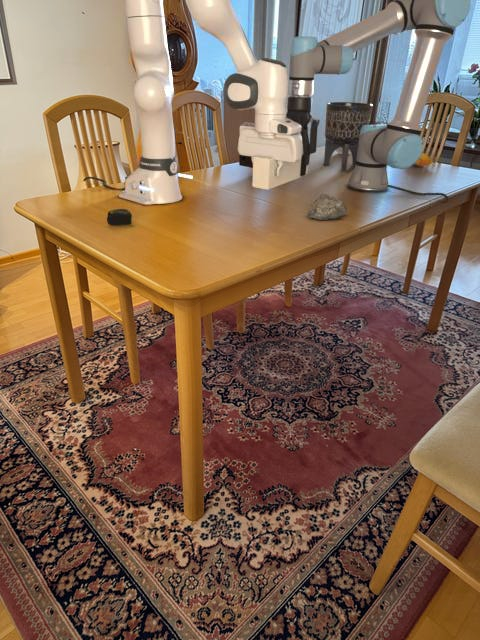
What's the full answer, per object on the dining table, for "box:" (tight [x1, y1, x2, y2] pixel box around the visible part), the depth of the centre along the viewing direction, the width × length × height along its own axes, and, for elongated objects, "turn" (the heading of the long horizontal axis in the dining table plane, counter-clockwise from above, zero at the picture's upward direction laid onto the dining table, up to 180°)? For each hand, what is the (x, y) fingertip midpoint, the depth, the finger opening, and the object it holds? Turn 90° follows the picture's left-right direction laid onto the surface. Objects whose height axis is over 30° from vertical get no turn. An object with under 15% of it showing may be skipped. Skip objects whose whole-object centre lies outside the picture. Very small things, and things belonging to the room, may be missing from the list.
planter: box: [323, 101, 374, 172], centre depth 204 cm, size 20×20×26 cm
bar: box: [251, 145, 309, 191], centre depth 142 cm, size 25×6×9 cm, turn 146°
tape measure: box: [106, 208, 133, 227], centre depth 132 cm, size 7×7×4 cm
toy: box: [414, 152, 434, 168], centre depth 216 cm, size 11×6×15 cm
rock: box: [307, 192, 348, 221], centre depth 142 cm, size 13×9×6 cm, turn 131°
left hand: (267, 174), depth 136 cm, fingers closed on bar, 5 cm apart
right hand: (294, 173), depth 150 cm, fingers closed on bar, 6 cm apart
